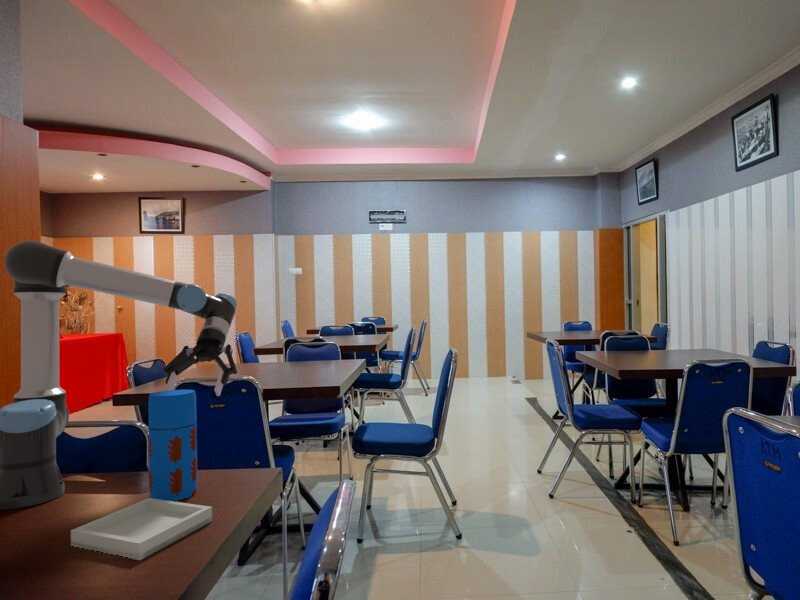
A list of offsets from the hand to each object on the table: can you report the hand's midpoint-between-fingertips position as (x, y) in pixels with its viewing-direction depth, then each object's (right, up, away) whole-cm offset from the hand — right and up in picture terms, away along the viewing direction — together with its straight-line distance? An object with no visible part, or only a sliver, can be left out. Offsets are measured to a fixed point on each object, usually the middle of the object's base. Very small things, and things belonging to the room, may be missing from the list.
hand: (191, 393), depth 135 cm
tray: (+4, -22, -33) cm, 40 cm away
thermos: (0, -23, -11) cm, 26 cm away
